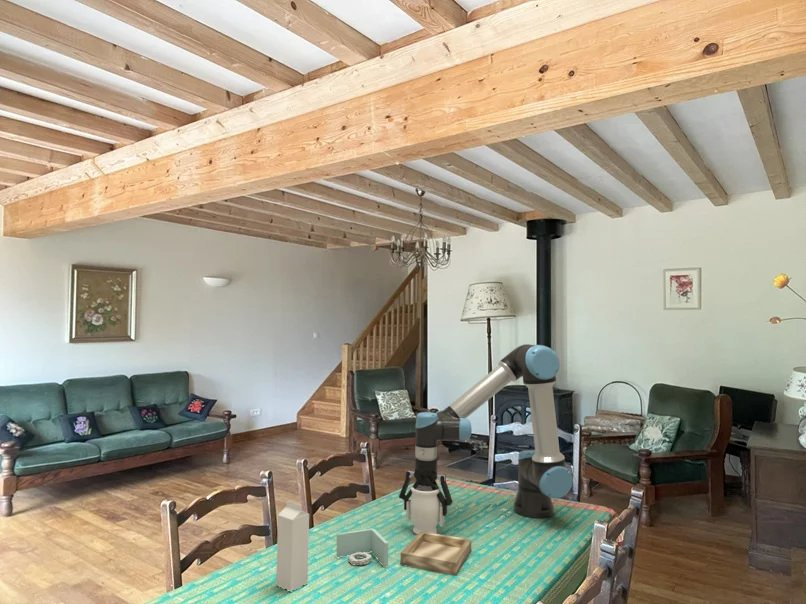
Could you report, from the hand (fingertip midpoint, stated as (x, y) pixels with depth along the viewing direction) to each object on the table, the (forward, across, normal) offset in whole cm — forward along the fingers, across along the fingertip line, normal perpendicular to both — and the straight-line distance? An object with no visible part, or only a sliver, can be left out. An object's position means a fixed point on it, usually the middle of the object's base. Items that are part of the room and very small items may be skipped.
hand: (425, 522), depth 182 cm
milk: (+3, -21, -50) cm, 54 cm away
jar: (+3, 0, 0) cm, 3 cm away
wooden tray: (+3, +10, -18) cm, 21 cm away
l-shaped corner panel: (+4, -10, -30) cm, 32 cm away
